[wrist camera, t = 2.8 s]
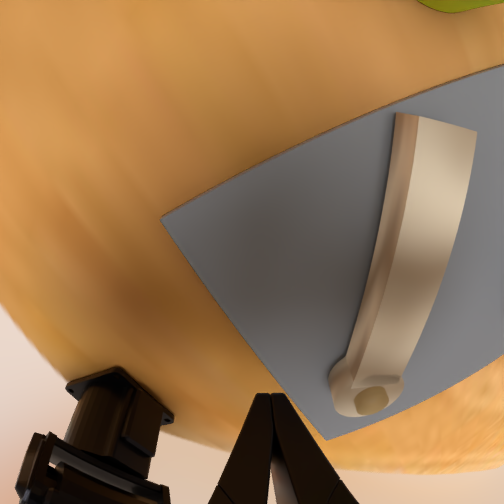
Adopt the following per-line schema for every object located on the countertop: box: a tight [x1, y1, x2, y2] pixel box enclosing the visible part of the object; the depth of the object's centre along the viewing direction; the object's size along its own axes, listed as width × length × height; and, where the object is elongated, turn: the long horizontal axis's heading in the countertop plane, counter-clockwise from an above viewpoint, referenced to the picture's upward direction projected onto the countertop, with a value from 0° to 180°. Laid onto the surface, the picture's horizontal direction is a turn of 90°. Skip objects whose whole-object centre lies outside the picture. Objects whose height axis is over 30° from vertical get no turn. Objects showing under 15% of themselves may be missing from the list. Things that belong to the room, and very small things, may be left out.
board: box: [160, 64, 504, 441], centre depth 16 cm, size 24×22×1 cm
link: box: [328, 112, 477, 417], centre depth 14 cm, size 17×4×3 cm, turn 178°
